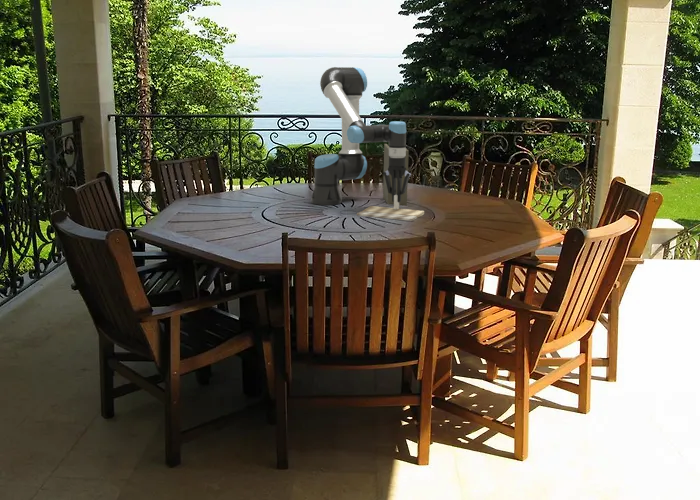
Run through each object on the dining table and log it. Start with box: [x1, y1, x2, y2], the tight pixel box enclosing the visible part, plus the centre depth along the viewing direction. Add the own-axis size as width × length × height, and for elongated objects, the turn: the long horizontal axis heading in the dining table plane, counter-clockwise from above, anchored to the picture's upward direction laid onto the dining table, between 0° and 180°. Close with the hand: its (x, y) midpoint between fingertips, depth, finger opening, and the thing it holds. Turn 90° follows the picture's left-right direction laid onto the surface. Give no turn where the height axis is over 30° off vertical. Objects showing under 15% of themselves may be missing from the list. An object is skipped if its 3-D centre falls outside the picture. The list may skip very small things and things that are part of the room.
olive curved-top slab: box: [382, 143, 410, 207], centre depth 327 cm, size 22×9×28 cm, turn 3°
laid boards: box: [356, 210, 418, 222], centre depth 292 cm, size 26×6×2 cm, turn 65°
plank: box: [362, 205, 425, 219], centre depth 299 cm, size 26×9×2 cm, turn 65°
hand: (396, 208), depth 301 cm, fingers closed
